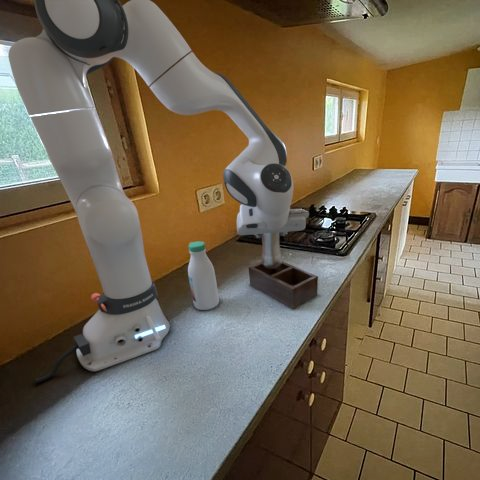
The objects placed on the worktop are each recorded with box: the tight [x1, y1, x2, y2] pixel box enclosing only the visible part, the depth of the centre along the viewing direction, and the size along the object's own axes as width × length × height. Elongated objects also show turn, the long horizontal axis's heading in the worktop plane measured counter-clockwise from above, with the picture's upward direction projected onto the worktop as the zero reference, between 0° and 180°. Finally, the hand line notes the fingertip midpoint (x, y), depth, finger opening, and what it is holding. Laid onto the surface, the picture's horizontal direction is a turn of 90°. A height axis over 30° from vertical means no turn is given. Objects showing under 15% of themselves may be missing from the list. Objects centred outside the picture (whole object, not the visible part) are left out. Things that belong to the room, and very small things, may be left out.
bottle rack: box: [248, 260, 319, 310], centre depth 97 cm, size 11×21×7 cm, turn 42°
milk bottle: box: [187, 240, 220, 311], centre depth 89 cm, size 8×8×20 cm
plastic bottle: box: [261, 232, 283, 269], centre depth 94 cm, size 6×7×20 cm
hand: (270, 234), depth 94 cm, fingers closed on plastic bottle, 6 cm apart
